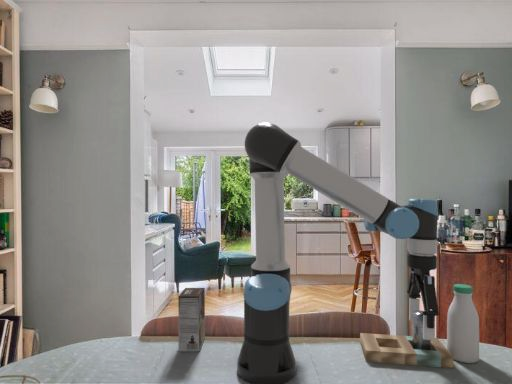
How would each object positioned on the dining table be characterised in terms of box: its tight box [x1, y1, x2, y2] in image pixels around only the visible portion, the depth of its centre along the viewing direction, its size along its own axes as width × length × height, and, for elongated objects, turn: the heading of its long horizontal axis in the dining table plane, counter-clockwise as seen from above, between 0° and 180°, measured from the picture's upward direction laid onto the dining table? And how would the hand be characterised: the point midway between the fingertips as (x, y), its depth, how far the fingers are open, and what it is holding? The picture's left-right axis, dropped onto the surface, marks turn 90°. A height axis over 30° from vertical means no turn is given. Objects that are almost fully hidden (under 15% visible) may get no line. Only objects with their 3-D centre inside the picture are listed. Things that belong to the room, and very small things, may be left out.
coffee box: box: [178, 287, 206, 352], centre depth 105 cm, size 9×6×16 cm
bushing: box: [412, 310, 431, 350], centre depth 98 cm, size 5×5×12 cm
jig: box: [359, 332, 454, 369], centre depth 99 cm, size 22×12×3 cm, turn 81°
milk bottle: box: [446, 283, 480, 364], centre depth 98 cm, size 8×8×20 cm
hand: (421, 329), depth 98 cm, fingers open, 13 cm apart
